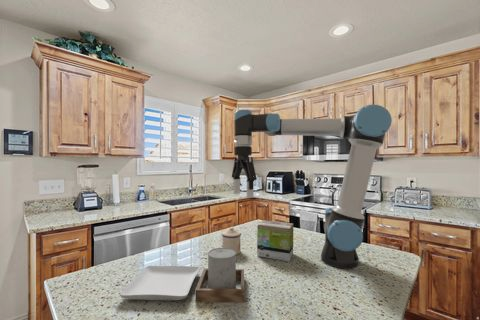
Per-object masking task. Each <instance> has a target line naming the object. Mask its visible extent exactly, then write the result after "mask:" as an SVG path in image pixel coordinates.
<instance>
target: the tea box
mask: <svg viewBox="0 0 480 320" xmlns="http://www.w3.org/2000/svg"><path fill="white" fill-rule="evenodd" d="M256 240H257V243H256V245H257V246H256V248H257V249H256V250H257V253H256V255H257V257H260V258H262V257H264V258H269V259H273V260H280V261H282V262H283V261H284V262H290V261H291V258H292V256H293V255H294V223H291V222H290V223H289V222H284V221H283V222H282V221H275V220H274V221H273V220H265V219H263V220H262V221H261V222H260V223H259V224H257V239H256Z"/></svg>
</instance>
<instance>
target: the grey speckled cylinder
mask: <svg viewBox="0 0 480 320" xmlns="http://www.w3.org/2000/svg"><path fill="white" fill-rule="evenodd" d="M207 252H208V253H207V256H208V257H207V261H208V262H207V269H208V280H207V289H237V287H236V286H237V280H236V269H237V265H236V263H237V255H236V251H235V250H233V249H230V248H222V247H216V248H212V249H210V250H209V251H207Z"/></svg>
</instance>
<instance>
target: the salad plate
mask: <svg viewBox="0 0 480 320" xmlns="http://www.w3.org/2000/svg"><path fill="white" fill-rule="evenodd" d="M200 270H201V267H200V266H192V265H147V266H146V267H145V268H143V269H142V271H141V272H139V273H138V274H137V275H136V276H135V278H133V280H132V281H131V282H129V283H128V284H127V286H125V288H124V289H122V290H121V291H120V293H119V296H120V297H121V298H123V299H126V300H140V301H141V300H142V301H181V300H184V299H186V298H187V297H188V295H189V293H190V290H191V289H192V285H193V283H194V281H195V278H197V275H198V274H199V272H200Z"/></svg>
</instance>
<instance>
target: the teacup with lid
mask: <svg viewBox="0 0 480 320" xmlns="http://www.w3.org/2000/svg"><path fill="white" fill-rule="evenodd" d="M241 236H242V233H241V232H240V231H239V230H236V229H234V227H229V229H227V230H225V231H223V232H222V233H221V237H222V245H221V246H222V247H221V248H230V249H233V250H235V251H236V256H237V255H239V254H240V253H241Z"/></svg>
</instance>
